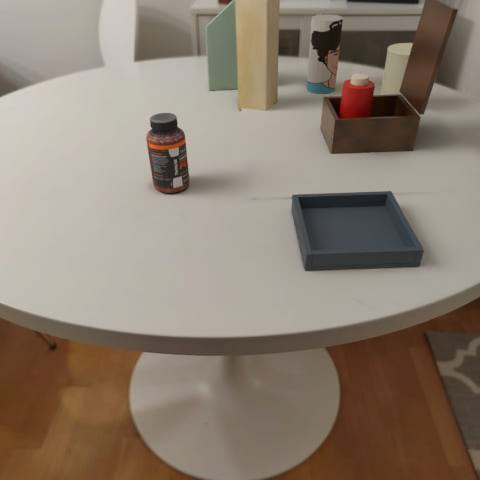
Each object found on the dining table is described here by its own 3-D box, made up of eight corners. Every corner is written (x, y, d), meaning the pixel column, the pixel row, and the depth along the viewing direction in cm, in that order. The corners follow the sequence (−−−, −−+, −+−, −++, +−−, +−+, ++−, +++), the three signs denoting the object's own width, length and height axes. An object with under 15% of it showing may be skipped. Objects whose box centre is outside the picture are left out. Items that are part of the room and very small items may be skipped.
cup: (328, 95, 106) (335, 22, 96) (302, 91, 108) (306, 19, 99) (339, 86, 110) (347, 16, 100) (313, 82, 113) (319, 13, 103)
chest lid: (453, 9, 67) (458, 9, 67) (426, -5, 75) (431, -5, 76) (419, 114, 77) (423, 114, 77) (399, 91, 86) (403, 91, 86)
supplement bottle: (190, 193, 73) (182, 123, 66) (152, 195, 73) (141, 126, 65) (190, 176, 77) (183, 108, 70) (155, 178, 77) (144, 110, 70)
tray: (387, 206, 69) (391, 190, 67) (419, 266, 58) (424, 250, 56) (291, 209, 69) (292, 194, 67) (304, 270, 58) (306, 254, 56)
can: (395, 117, 95) (408, 54, 87) (368, 103, 101) (378, 43, 93) (430, 109, 98) (445, 48, 90) (402, 96, 104) (414, 38, 96)
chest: (330, 157, 81) (334, 120, 77) (320, 131, 90) (323, 96, 86) (411, 155, 82) (420, 117, 77) (393, 129, 90) (400, 94, 86)
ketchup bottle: (362, 132, 87) (371, 70, 80) (368, 144, 83) (379, 80, 76) (334, 133, 87) (341, 71, 80) (339, 145, 83) (347, 81, 76)
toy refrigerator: (247, 98, 105) (245, -9, 92) (277, 101, 103) (280, -7, 90) (234, 110, 100) (231, -2, 86) (266, 114, 98) (268, 0, 84)
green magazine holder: (270, 76, 117) (272, -15, 104) (275, 86, 111) (278, -9, 98) (207, 80, 116) (201, -12, 103) (209, 90, 110) (202, -6, 97)
